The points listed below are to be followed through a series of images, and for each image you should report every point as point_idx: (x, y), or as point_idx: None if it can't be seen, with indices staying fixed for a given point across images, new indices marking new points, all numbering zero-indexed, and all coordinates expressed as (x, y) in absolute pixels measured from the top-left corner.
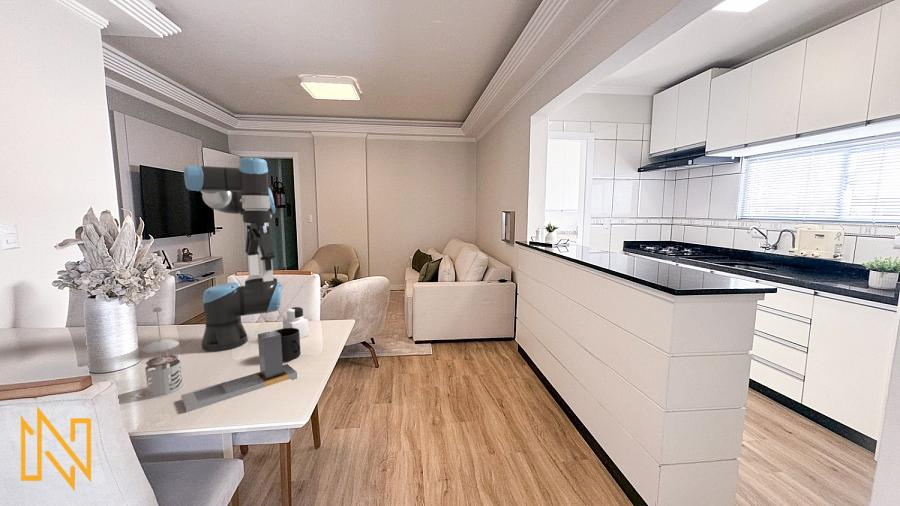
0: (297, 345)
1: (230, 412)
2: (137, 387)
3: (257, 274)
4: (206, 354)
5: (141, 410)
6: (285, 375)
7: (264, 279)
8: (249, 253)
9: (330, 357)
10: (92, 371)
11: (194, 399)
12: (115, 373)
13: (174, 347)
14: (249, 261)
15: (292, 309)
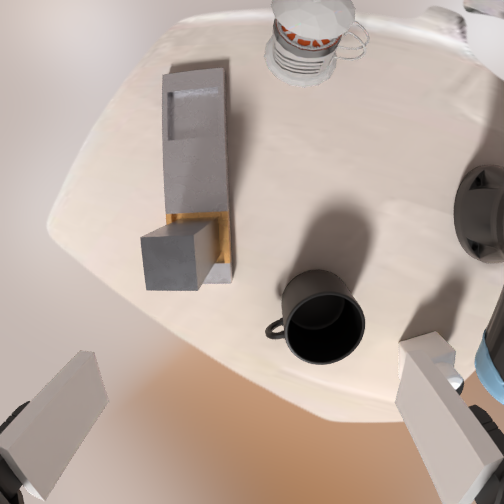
0: (268, 331)
1: (121, 141)
2: None
3: (397, 395)
4: (458, 162)
5: (241, 22)
6: None
7: (75, 362)
8: (502, 484)
9: (234, 368)
10: (475, 11)
11: (183, 87)
12: (450, 24)
13: (285, 27)
14: (456, 427)
15: None
